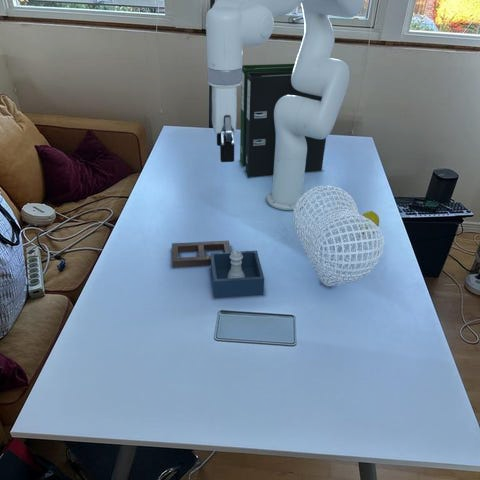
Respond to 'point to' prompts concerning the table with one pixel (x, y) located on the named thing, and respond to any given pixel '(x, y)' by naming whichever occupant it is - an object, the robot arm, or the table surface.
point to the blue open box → (236, 286)
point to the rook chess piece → (236, 265)
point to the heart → (336, 236)
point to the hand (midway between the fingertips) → (225, 153)
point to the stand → (201, 249)
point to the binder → (268, 118)
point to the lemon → (372, 217)
